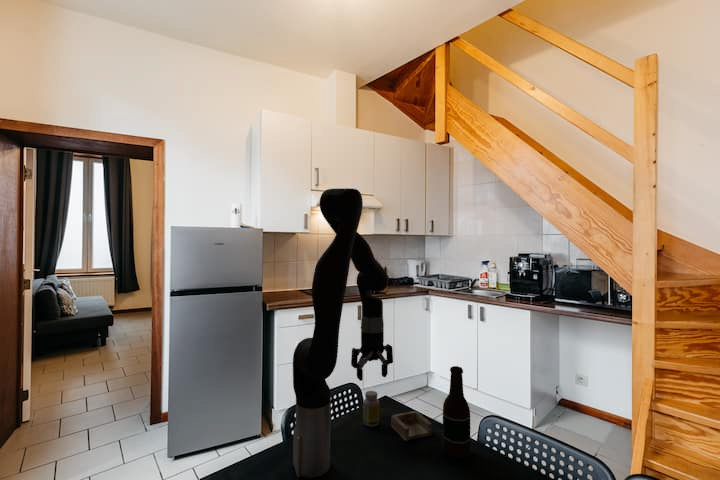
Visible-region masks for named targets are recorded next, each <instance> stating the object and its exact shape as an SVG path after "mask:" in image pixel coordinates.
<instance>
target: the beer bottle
mask: <svg viewBox="0 0 720 480" xmlns="http://www.w3.org/2000/svg"><path fill="white" fill-rule="evenodd" d="M449 371H450V381H449V383H450V384H449V392H448V395H446V398H445V399H444V401H443V404H442V405H443V406H442V448H443V452H444V455H446V456H447V457H449V458H451V459H453V460H465V459H466V458H468V457H470V454H471V409H470V406H469V403H468V401H467V399H466V398H465V395H464V381H463V374H464V370H463V368H462V367H461V366H458V365H453V366H451V367H450V368H449Z"/></svg>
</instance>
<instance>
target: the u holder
mask: <svg viewBox="0 0 720 480" xmlns="http://www.w3.org/2000/svg"><path fill="white" fill-rule="evenodd" d="M390 417H391V420H390V421H391V422H390V424H391V425H390V426H391V428H392V429H393V430H395V431H396V433H397V434H398V435H399V436H400V438H402V439H403V440H404V441H405V442H407V441H412V440H416V439H419V438H424V437H425V438H426V437H429V436H433V423H432V422H431V421H430V420H429V419H427V418H426V417H424V416H423V415H422V414H421V413H420V412H418V410H413V411H412V410H411V411H407V412H406V411H405V412H401V413H396V414H391V415H390Z"/></svg>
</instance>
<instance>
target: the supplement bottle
mask: <svg viewBox="0 0 720 480" xmlns="http://www.w3.org/2000/svg"><path fill="white" fill-rule="evenodd" d="M364 396H365V398H364V399H363V402H362V403H363V405H362V423H363V425H365V426H367V427H376V426H378V425H379V423H380V400H379V399H378V392H377V391H374V390H368V391H366V392H365V394H364Z"/></svg>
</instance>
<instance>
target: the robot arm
mask: <svg viewBox="0 0 720 480" xmlns="http://www.w3.org/2000/svg"><path fill="white" fill-rule="evenodd" d="M363 203H364V202H363V196H362V194H361V192H360V191H359V189H356V188H328V189H326V190H324V191H323V192H322V193H321V196H320V198H319V209H320V212H321V214H322V216H323V218H324V220H325V221H326V222H327V224H328V225H329V227H330V228H331V230H333V232H334V234H335V236H334V238H333V240H332V241H331V243H330V244H329V246H328V247H326V250H325V251H324V252H323V253H322V255H321V256H320V257H319V259H318V260H317V262H316V265H315V268H314V272H313V277H312V283H311V297H312V298H311V302H312V308H313V313H314V328H313V334H312V337H305V338H304V339H302V340H301V341H299V342H298V344H297V345H296V347H295V348H294V350H293V356H292V385H293V387H292V388H293V391H294V394H295V427H294V428H293V439H292V444H293V446H292V447H293V449H292V451H293V455H292V466H293V467H294V470H295V474H296V476H297V478H301V477H302V478H303V477H304V478H310V479H311V478H317V477H321V476H323V475H324V474H327V472H328V471H329V470H330V467H331V424H332V423H331V421H332V420H331V419H332V418H331V417H332V413H331V411H332V406H331V405H332V392H331V391H332V390H331V389H330V387H329V385H328V382H327V381H326V380H327V379H328V378H330V376H331V375H332V373H334V371H335V368H336V365H337V360H338V353H339V340H340V339H339V338H340V337H339V336H340V326H341V319H342V313H343V306H344V301H345V294H346V290H347V285H348V279H349V271H350V265H351V262H352V264H353V266H354V268H355V270H356V271H357V272H358V273H357V275H356V286H357V290H358V293H359V298H360V302H361V320H360V321H361V322H360V344H361V346H360V348H355V347H353V348H351V361H350V366H351V367H352V368H354V369H356V378H357V379H358V380H359V382H360V381H362V382H363V377H364V374H363V371H364V370H363V368H364V366H365V365H366V364H367V363H368V362H373V361H378V360H379V361H380V362H381V363H382V364H381V376H382V378H387V376H388V373H389V371H388V367H389V365H390V364H393V363H394V355H393V353H394V351H393V346H392V345H391V344H389V343H387V344H385V345H384V340H385V338H384V337H385V335H384V334H385V332H384V326H385V322H384V311H383V310H384V302H383V300H382V298H379V297H378V296H374V295H373V294H372V292H373V291H374V292H383V291H384V290H386V289H387V287H388V286H389V276H388V273H387V271H386V270H385V268H384V267H383V266H382V265H381V264H380V262H378V260H377V259H376V258H375V256H374V253H373V250H372V247H371V246H370V245H369V242H368V241H367V240H366V239H365V238H364V237H363V236H362V235H361V234H360V233H359V232H358V230H359V229H358V228H359V226H360V225H359V224H360V220H361V216H362V212H363V206H364V204H363ZM384 352H386V353H385V354H386V355H385V356H386V358H385V356H384V355H383V353H384ZM360 353H361V355H360ZM359 355H360V357H359V359H358V356H359Z"/></svg>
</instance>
